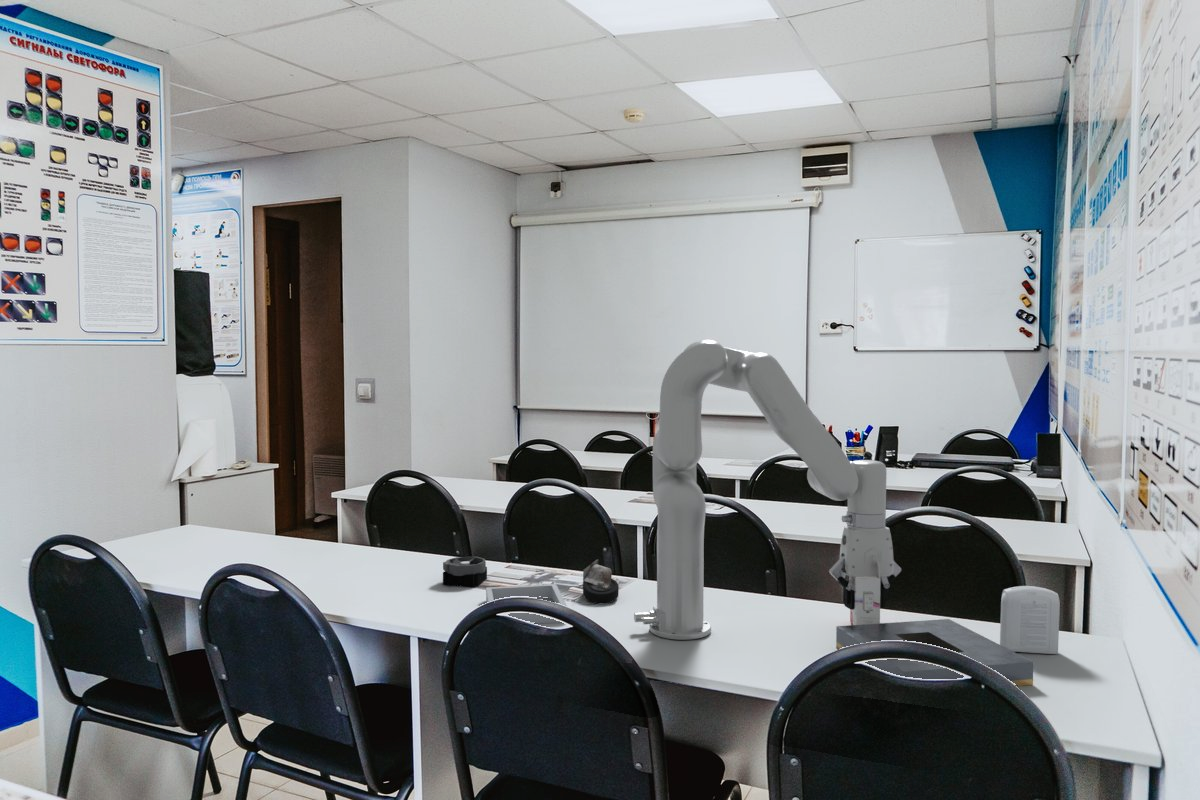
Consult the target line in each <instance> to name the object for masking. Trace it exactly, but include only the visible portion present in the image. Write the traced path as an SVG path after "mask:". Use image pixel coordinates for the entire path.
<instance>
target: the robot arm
mask: <svg viewBox="0 0 1200 800" xmlns="http://www.w3.org/2000/svg"><path fill="white" fill-rule="evenodd" d="M791 380H792V379H790V377H789V375H788V374H787V373H786V372H785V370H784V368H783V367H782V365H781V364H780V363H779V361H778V360H777V359H776V358H775V357H774V356H773V355H771V354H769V353H765V352H748V351H744V350H739V349H733V348H730V347H724V346H723V345H722V344H721V343H720V342H718V341H715V340H712V339H703V340H698V341H695V342H692V343H690V344H689V345H688V346H687V347H685V349H684V350H683V351H682V352H681V353H680V354H678V355H677V356H676V357H675V358H674V360H673V361H672V362H671V363H670V364H669V366H668V368H667V370H666V372H665V374H664V376H663V378H662V382H661V387H660V392H659V393H660V394H659V395H660V397H659V414H658V415H659V418H658V422H659V423H658V424H659V425H658V426H659V427H658V430H657V431H656V433H655V435H654V437H653V442H652V495H653V501H654V503H655V505H656V507H657V528H656V605H653V606H652V610H649V611H648V612H634V614H633V619H634V620H633V621H634V623H642V624H643V625H649V631H650V633H652V634H653V635H655V636H657V637H659V638H664V639H670V640H677V641H684V640H685V641H687V640H688V641H689V640H697V639H701V638H704V637H706V636H708V635H710V634H711V632H712V625H711V624H710V623H709V622H708V621H707V620H705V619H704V591H705V590H704V586H705V585H704V568H705V567H704V565H705V563H704V562H705V561H704V548H705V547H704V543H705V542H704V541H705V540H704V539H705V525H706V523H705V522H706V510H707V509H706V506H707V505H706V499H705V494H704V492H703V491H702V489H701V487H700V485H699V484H698V483H697V464H698V463H699V461H700V459H701V456H702V453H703V439H702V408H703V407H702V405H703V404H702V403H703V396H704V393H705V390H706V388H707V387H708V385H713V386H717V387H722V388H726V389H731V390H735V391H739V392H741V391H742V392H746V393H748V395H749V396H750V398H751V399H752V401H753V402H754V404H755V405H756V407H757V408H758V409H759V411H760V412H761V414H762V416H763V417H764V419H765V420H766V421H767V423H768V424H769V426H770V427H771V429H772V431H773V432H774V433H775V434H776V436H778V437H779V439H780V440H781V441H783V442H784V443H785V444H786V445H787V446H788V447H790V448H791V450H793V451H794V452H795V453H796V454H797V455H798V457H800V459H801V460H802V461H803V462H804V463H805V465H806V467H808V469H807V472H806V479H807V482H808V484H809V486H810V488H812V489H813V490H814V491H816V493H819V494H820V495H823V496H824V497H827V498H829V499H831V500H832V501H837V502H838V501H840V502H841V501H845V500H847V511H846V515H842V516H841V522H842V523H845V524H846V525H845V526H844V528H843V530H842V535H841V541H840V548H839V559H838V560H837V561H836V563H834V564H833V566H832V567H831V568H830V569H829V570H828V572H829V574H830V575H831V576H832V577H833V578H834V579H835V580H836V582H837V583H838V584H839V585H840V587H841V588H842V591H843V592H842V602H843V603H842V604H844V605H843V606H844V607H845V608H848V609H849V610H850V609H851V610H853V609H854V608H855V591H854V590H852V588H853V585H854V583H855V578H856V577H864V576H877V577H878V568H877V561H878V563H879V568H880V608H882V609H885V608H886V603H887V602H888V601H887V600H888V597H887V596H888V589H889V588H890V586H891V584H892V582H893V581H894V580H896V577H898V575H899V574H900V573H901V572H902V567H900V566H899V564H897V562H896V561H895V560H894V546H893V540H892V534H891V530H890V527H887V526H886V518H887V517H886V515H887V514H886V512H887V511H886V509H887V467H886V464H885V463H883V462H882V461H880V460H879V461H878V460H874V459H873V460H872V459H859V460H858V459H855V460H853V461H852V460H849V458H848V456H847V454H846V453H845V452H844V451H843V449H842V448H841V445H840V444H838V442H837V440H836V439H835V438H834V436H833V435H832V434H831V433H830V432H829V431H828V430H827V428H826V427H825V426H824V425H823V424H822V422H821V421H820V420H819V418H818V417H817V415H815V414H814V413H813V411H812V410H811V408H810V406H808V404H807V402H806V401H805V399H804V398H803V397H802V396H801V394H800V392H799V391H798V389H797V388H796V386H795V385H794V384H793V382H792V381H791ZM840 572H842V573H843V574H844V575H843V576H842V574H841V573H840Z"/></svg>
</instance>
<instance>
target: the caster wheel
mask: <svg viewBox="0 0 1200 800" xmlns="http://www.w3.org/2000/svg"><path fill="white" fill-rule="evenodd" d="M612 574H613V573H612V569H611V568H609V567H606V566H603V565H600V564H599V559H596V560H594V561H593V562H592V563H591V564H589V565H588V566H587V567H586V568H584V569H583V571H582V575H583V576H582V595H583V598H584V599H585V600H587V601H588V602H590V603H593V604H599V603H603V604H610V603H612V602H614V601H616V600H617V599H618V598H619V593H620V592H619V590H620V588H619V583H618V582H617V581H616V580H615V579H613V578H612V576H613V575H612Z"/></svg>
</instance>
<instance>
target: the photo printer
mask: <svg viewBox="0 0 1200 800" xmlns="http://www.w3.org/2000/svg"><path fill="white" fill-rule="evenodd" d="M1000 600H1001V601H1000V627H999V628H1000V629H999V645H1001V646H1003V647H1005V648H1007V649H1009V650H1011V651H1013V652H1015V653H1017V652H1018V653H1031V654H1043V655H1044V654H1048V655H1049V654H1050V655H1057V654H1058V653H1059V633H1060V607H1061V606H1060V605H1061V604H1060V597H1059V594H1058V593H1057V592H1056V591H1053V590H1051V589H1049V588H1044V587H1040V586H1034V585H1033V586H1031V585H1019V586H1013V587H1008V588H1004V589H1003V590H1002V592H1001V599H1000Z"/></svg>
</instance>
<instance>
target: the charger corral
mask: <svg viewBox="0 0 1200 800" xmlns="http://www.w3.org/2000/svg"><path fill="white" fill-rule="evenodd" d="M485 596H486V597H485V601H486V603H487V602H490V601H493V600H495V599H499V598H504V597H510V596H529V597H537V598H543V597H548V598H547V599H551V600H552V599H553V600H552V602H553V601H554V602H556V603H560V604H562V605H565V606H567V607H568V605H567V603H566V601H565V599H564V597H563V595H562V593H561V591H560V589H559V587H558V584H557V583H549V584H548V583H547V584H546V583H545V584H530V585H529V584H528V585H509V586H494V587H493V586H492V587H490V586H489V587H485ZM539 596H541V597H539ZM545 600H546V598H545ZM554 602H553V603H554ZM508 615H509V616H512V617H516V618H518V619H522V620H525V621H530V622H535V623H538V624H551V623H553V624H554V623H559V622H558V621H556V620H554V619H550V618H546V617H543V616H540V615H536V614H529V613H510V614H508Z"/></svg>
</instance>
